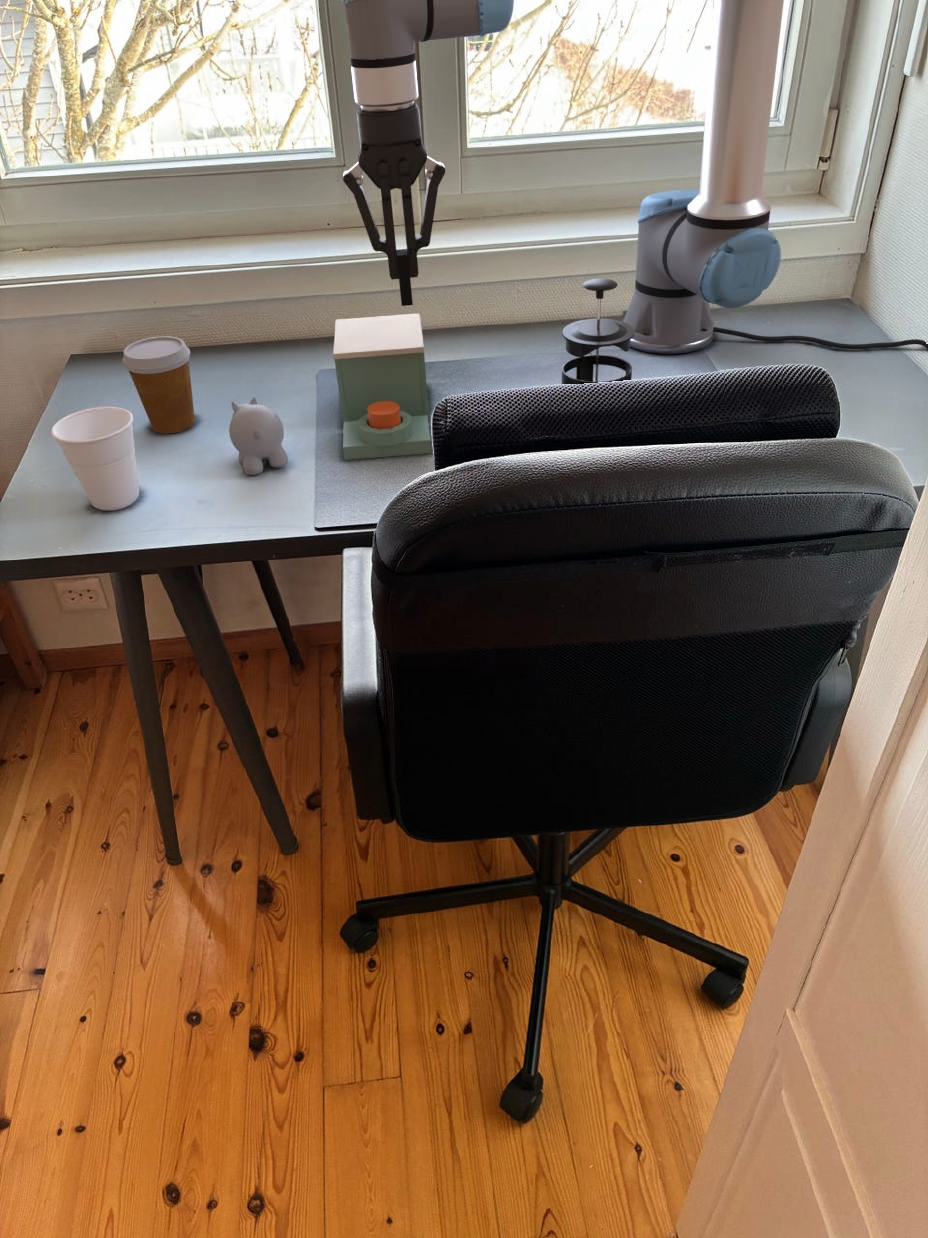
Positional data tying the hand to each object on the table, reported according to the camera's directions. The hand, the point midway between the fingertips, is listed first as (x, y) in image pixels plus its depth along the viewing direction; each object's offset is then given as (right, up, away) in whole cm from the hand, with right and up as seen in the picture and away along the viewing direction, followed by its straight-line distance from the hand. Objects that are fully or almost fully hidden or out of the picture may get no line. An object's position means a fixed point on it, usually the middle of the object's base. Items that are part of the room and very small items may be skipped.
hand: (406, 301), depth 126 cm
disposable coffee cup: (-36, -13, +15) cm, 41 cm away
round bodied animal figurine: (-21, -20, +6) cm, 30 cm away
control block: (-3, -18, +7) cm, 19 cm away
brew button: (-3, -16, +4) cm, 16 cm away
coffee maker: (-4, -10, +17) cm, 20 cm away
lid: (-5, -2, +10) cm, 11 cm away
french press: (+25, -20, +3) cm, 32 cm away
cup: (-38, -27, -2) cm, 47 cm away
